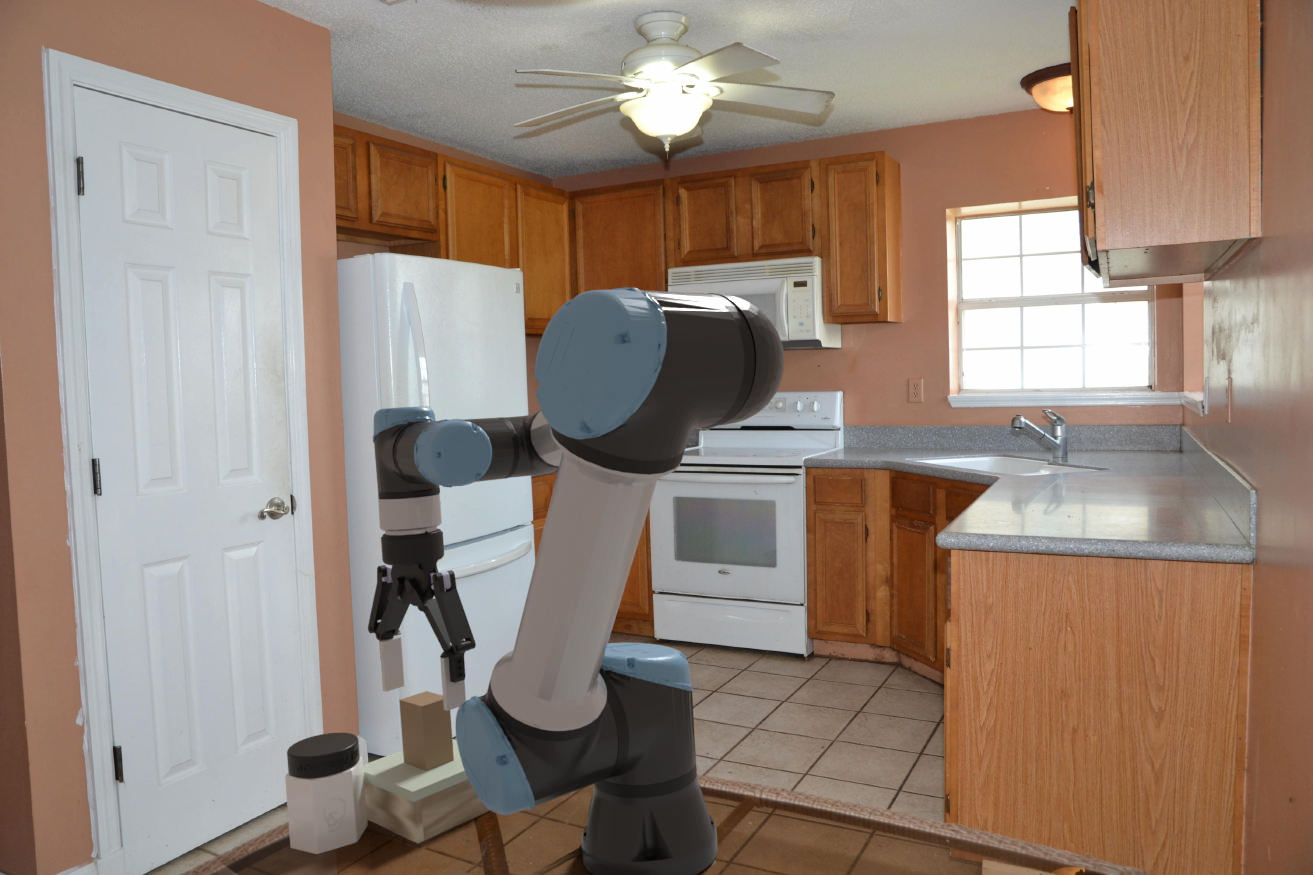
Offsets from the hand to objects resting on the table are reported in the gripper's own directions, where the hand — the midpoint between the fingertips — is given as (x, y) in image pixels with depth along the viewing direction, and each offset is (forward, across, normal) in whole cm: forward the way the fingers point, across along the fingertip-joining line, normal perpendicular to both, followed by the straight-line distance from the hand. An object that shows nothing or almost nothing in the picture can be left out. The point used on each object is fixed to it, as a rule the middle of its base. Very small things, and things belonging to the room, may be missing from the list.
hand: (423, 697), depth 112 cm
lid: (+9, 0, 0) cm, 9 cm away
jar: (+16, +4, +11) cm, 20 cm away
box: (+15, 0, 0) cm, 15 cm away
